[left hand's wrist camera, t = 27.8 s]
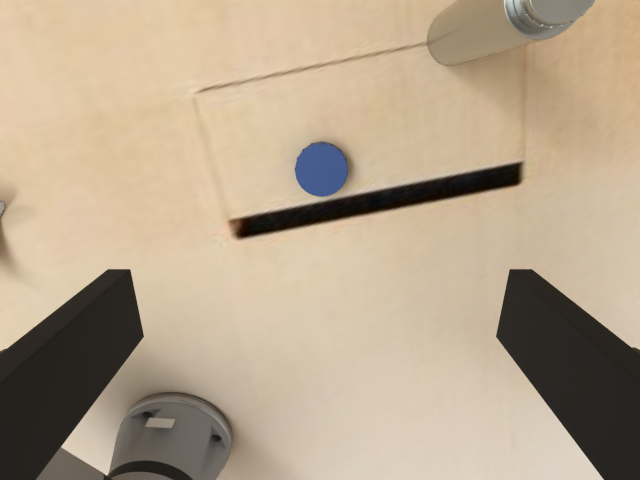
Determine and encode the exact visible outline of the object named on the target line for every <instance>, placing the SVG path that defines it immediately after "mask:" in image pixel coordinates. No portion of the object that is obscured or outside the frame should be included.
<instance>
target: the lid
mask: <svg viewBox="0 0 640 480" xmlns="http://www.w3.org/2000/svg"><path fill="white" fill-rule="evenodd" d="M346 161H347V160H346V158H344V156H343V154H342V152H341V150H339V149H338V148H337V147H335V146H334V145H333V144H329V143H325V142H318V143H314V144H311V145H309V146H308V147H306V148H305V149H303V150H302V152H301V154H300V155H299V157H298V158H297V163H296V167H295V173H296V178H297V181H298V183H299V184H300V186H301V187H302V188H303V189H304V190H305V191H306V192H308V193H309V194H312V195H315V196H328V195H331V194H333V193H335V192H337V191H338V190H339V189H340V188H341V187H342V186H343V184H344V183H345V181H346V178H347V173H348V168H347V163H346Z"/></svg>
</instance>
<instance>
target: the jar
mask: <svg viewBox="0 0 640 480" xmlns="http://www.w3.org/2000/svg"><path fill="white" fill-rule="evenodd" d="M594 1H595V0H458V1H456V2H455V3H454V4H452V5H451V6H449V7H448V8H447V9H445V10H444V11H443V12H441V13H440V14H439V15H438V16H437V17H436V18H435V19H434V21H433V22H432V24H431V26H430V28H429V32H428V37H427V43H428V48H429V51H430V53H431V55H432V57H433V58H434V59H435V60H436V61H437V62H439V63H441V64H444V65H456V64H460V63H464V62H467V61H471V60H474V59H478V58H481V57H485V56H488V55H492V54H496V53H499V52H503V51H506V50H510V49H513V48H517V47H521V46H524V45H528V44H531V43H535V42H538V41H542V40H545V39H549V38H552V37H555V36H557V35H559V34H561V33H562V32H564V31H565V30H566V29H568V28H569V27H570V26H571V25H572V24H573V23H574V22H575V21H576V20H577V19H578V18H579V17H581V16H582V15H584V13H585V12H586V11H587V10H588V9H589V8H590V7H591V6H592V5H593V3H594Z"/></svg>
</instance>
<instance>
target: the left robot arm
mask: <svg viewBox="0 0 640 480" xmlns="http://www.w3.org/2000/svg"><path fill="white" fill-rule="evenodd" d="M143 337H144V335H143V330H142V325H141V320H140V315H139V310H138V305H137V300H136V296H135V291H134V286H133V281H132V276H131V271H130V269H108V270H107V271H105V272H104V273H103V274H102V275H100V276H99V277H98V278H97V279H95V280H94V281H93V282H91V283H90V284H89V285H88V286H86V287H85V288H84V289H83V290H81V291H80V292H79V293H77V294H76V295H75V296H74V297H72V298H71V299H70V300H69V301H67V302H66V303H65V304H63V305H62V306H61V307H60V308H58V309H57V310H56V311H55V312H53V313H52V314H51V315H49V316H48V317H47V318H46V319H44V320H43V321H42V322H41V323H39V324H38V325H37V326H35V327H34V328H33V329H32V330H30V331H29V332H28V333H27V334H25V335H24V336H23V337H21V338H20V339H19V340H18V341H16V342H15V343H14V344H13V345H11V346H10V347H9V348H7V349H4V350H2V351H0V480H216V478H217V477H218V475H219V473H220V472H221V470H222V469H223V467H224V466H225V463H226V462H227V459H228V457H229V454H230V450H231V446H232V431H231V428H230V425H229V423H228V421H227V420H226V418H225V417H224V416H223V415H222V413H221V412H220V411H219V410H217V409H216V408H215V407H214V406H212V405H211V404H209V403H208V402H206V401H204V400H202V399H199V398H197V397H194V396H191V395H187V394H181V393H161V394H155V395H152V396H149V397H146V398H144V399H142V400H140V401H139V402H137V403H136V404H135V405H134V406H133V407H132V408H131V409H130V410H129V412H128V413H127V415H126V417H125V418H124V420H123V421H122V423H121V425H120V428H119V431H118V434H117V439H116V443H115V448H114V453H113V457H112V462H111V466H110V471H109V474H108V476H106V475H105V474H103V473H102V472H100V471H99V470H97V469H95V468H94V467H92V466H90V465H89V464H87V463H85V462H84V461H82V460H80V459H79V458H77V457H76V456H74V455H72V454H71V453H69V452H68V451H66V450H64V449H63V448H61V446H62V444H63V443H64V442H65V441H66V439H67V438H68V437H69V435H70V434H71V433H72V431H73V430H74V429H75V427H76V426H77V425H78V423H79V422H80V421H81V419H82V418H83V417H84V415H85V414H86V413H87V411H88V410H89V409H90V407H91V406H92V405H93V403H94V402H95V401H96V399H97V398H98V397H99V395H100V394H101V393H102V391H103V390H104V389H105V387H106V386H107V385H108V383H109V382H110V381H111V379H112V378H113V377H114V375H115V374H116V373H117V372H118V370H119V369H120V368H121V366H122V365H123V364H124V362H125V361H126V360H127V358H128V357H129V356H130V354H131V353H132V352H133V350H134V349H135V348H136V346H137V345H138V344H139V342H140V341H141V340H142V338H143ZM496 337H497V338H498V340H499V341H500V342H501V344H502V345H503V346H504V348H505V349H506V350H507V352H508V353H509V354H510V356H511V357H512V358H513V360H514V361H515V362H516V364H517V365H518V366H519V368H520V369H521V370H522V372H523V373H524V374H525V375H526V377H527V378H528V379H529V381H530V382H531V383H532V385H533V386H534V387H535V389H536V390H537V391H538V393H539V394H540V395H541V397H542V398H543V399H544V401H545V402H546V403H547V405H548V406H549V407H550V409H551V410H552V411H553V413H554V414H555V415H556V417H557V418H558V419H559V421H560V422H561V423H562V425H563V426H564V427H565V429H566V430H567V431H568V433H569V434H570V435H571V437H572V438H573V439H574V441H575V442H576V443H577V444H578V446H579V447H580V448H581V450H582V451H583V452H584V454H585V455H586V456H587V458H588V459H589V460H590V462H591V463H592V464H593V466H594V467H595V468H596V470H597V471H598V472H599V474H600V475H601V476H602V478H603V479H604V480H640V350H639V349H637V348H631V347H630V346H629V345H627V344H626V343H625V342H624V341H622V340H621V339H620V338H619V337H617V336H616V335H615V334H613V333H612V332H611V331H610V330H608V329H607V328H606V327H605V326H603V325H602V324H601V323H599V322H598V321H597V320H596V319H594V318H593V317H592V316H591V315H589V314H588V313H587V312H585V311H584V310H583V309H582V308H580V307H579V306H578V305H577V304H575V303H574V302H573V301H571V300H570V299H569V298H568V297H566V296H565V295H564V294H563V293H561V292H560V291H559V290H557V289H556V288H555V287H554V286H552V285H551V284H550V283H549V282H547V281H546V280H545V279H543V278H542V277H541V276H540V275H538V274H537V273H536V272H535V271H533V270H532V269H510V271H509V276H508V281H507V286H506V291H505V296H504V300H503V305H502V310H501V315H500V320H499V325H498V330H497V335H496Z"/></svg>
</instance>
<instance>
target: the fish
mask: <svg viewBox="0 0 640 480" xmlns="http://www.w3.org/2000/svg"><path fill="white" fill-rule="evenodd" d="M4 208H5V203H4V202H3V201H0V217H1V215H2V213H3V211H4Z"/></svg>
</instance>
